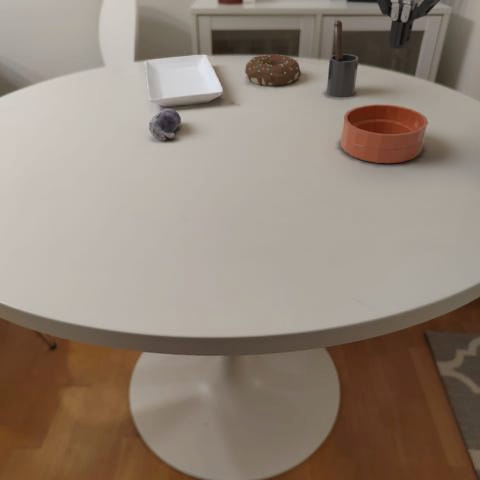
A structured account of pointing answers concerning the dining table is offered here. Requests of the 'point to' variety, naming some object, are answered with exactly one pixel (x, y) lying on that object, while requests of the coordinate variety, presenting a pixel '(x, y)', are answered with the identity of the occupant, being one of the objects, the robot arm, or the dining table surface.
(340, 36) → the stick
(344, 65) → the holder
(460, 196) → the dining table surface
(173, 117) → the grey plush toy
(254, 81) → the donut
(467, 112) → the dining table surface
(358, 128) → the bowl
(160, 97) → the tray
